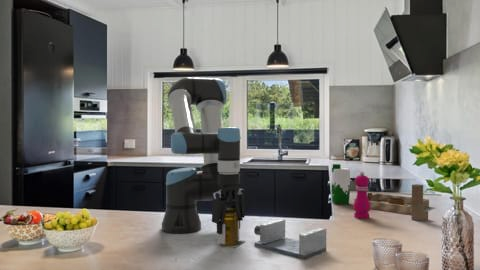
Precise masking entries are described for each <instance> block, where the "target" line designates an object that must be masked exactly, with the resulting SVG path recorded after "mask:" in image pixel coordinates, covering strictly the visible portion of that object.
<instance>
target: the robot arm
mask: <svg viewBox="0 0 480 270" xmlns="http://www.w3.org/2000/svg"><path fill="white" fill-rule="evenodd" d="M169 88H170V89H169V90H168V92H167V93H168V94H167V102H168V105H169V106H170V107H171V111H172V119H173V121H172V122H173V127H174V132H172V133H171V136H170V150H171V152H172V153H173V154H174V155H195V154H196V155H200V154H201V155H203V164H202V165H201V166H200V170H197V167H194V166H192V167H191V166H190V167H182V168H181V167H180V168H175V169H172V170H170V171H168V172H167V174H166V177H165V178H166V179H165V181H166V182H165V185H166V189H165V190H166V192H165V193H166V195H165V197H166V198H165V199H166V200H165V201H166V202H165V208H166V209H165V213H164V215H163V219H162V222H161V230H162V231H163V232H165V233H170V234H189V233H194V232H197V231H200V230H201V229H202V222H201V221H202V220H201V219H200V215H199V212H198V209H197V202H203V201H204V202H206V201H208V202H209V201H212V209H211V212H212V213H211V222H212V223H215V224H216V234H217V244H218V243H221V244H225V224H223V222H224V218H225V213H226V209H227V208H228V205H229V204H230V208H235V209H236V210H237V212H236V213H237V217H238V240H240V229H241V221H243V220H244V218H245V217H246V214H245V213H246V212H245V211H246V209H245V208H246V207H245V193H246V190H245V188H244V189H243V188H240V187H239V185H240V183H241V174H240V173H239V172H241V139H242V138H241V131H240V130H241V129H240V128H239V127H236V126H234V127H233V126H223V125H222V124H223V123H222V116H221V115H222V113H221V111H222V110H223V108H224V106H225V105H226V103H227V99H228V98H227V88H226V85H225V82H224V81H223V79H221V78H217V77H216V78H214V77H208V78H207V77H183V78H180V79H179V80H177V81H175V82H174V83H173V85H172V86H171V87H169ZM192 106H195V107H196V110H197V112H199V113H200V125H201V126H200V127H201V132H197V129H196V126H195V120H194V117H193V116H194V115H193V111H192Z"/></svg>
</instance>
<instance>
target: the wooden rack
mask: <svg viewBox="0 0 480 270" xmlns="http://www.w3.org/2000/svg"><path fill="white" fill-rule="evenodd" d="M372 195H373V193H372V192H367V197H368V198H369V201H371V198H372ZM388 203H389V204H397V205H404V206H409V205H410V204H404V199H401V198H389V202H388Z"/></svg>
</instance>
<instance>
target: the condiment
mask: <svg viewBox="0 0 480 270" xmlns="http://www.w3.org/2000/svg"><path fill="white" fill-rule="evenodd" d="M236 212H237V210H236V209H235V208H231V207H227V209H226V213H225V218H224V222H223V224H225V244H221V243H218V242H217V244H216V246H220V247H225V248H226V247H227V248H234V249H235V248H236V247H238V246H240V245H241V244H242V243H244V242H245V240H240V239H239V240H238V217H237V213H236Z"/></svg>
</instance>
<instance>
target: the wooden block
mask: <svg viewBox="0 0 480 270" xmlns="http://www.w3.org/2000/svg"><path fill="white" fill-rule="evenodd" d="M411 197H412V213H411V218H410V219H411V220H413V221H416V222H420V221H427V220H429V211H428V210H425V208H424V209H423V199H424V185H423V184H418V183H416V184H414V183H412V184H411Z"/></svg>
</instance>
